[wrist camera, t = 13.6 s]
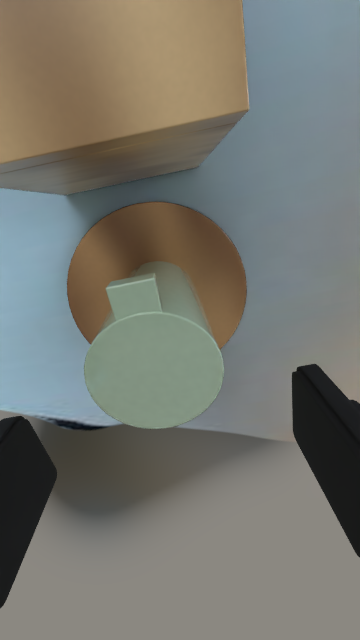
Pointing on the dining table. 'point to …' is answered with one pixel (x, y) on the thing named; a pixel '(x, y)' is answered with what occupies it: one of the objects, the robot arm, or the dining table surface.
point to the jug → (154, 350)
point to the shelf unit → (115, 89)
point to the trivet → (157, 245)
